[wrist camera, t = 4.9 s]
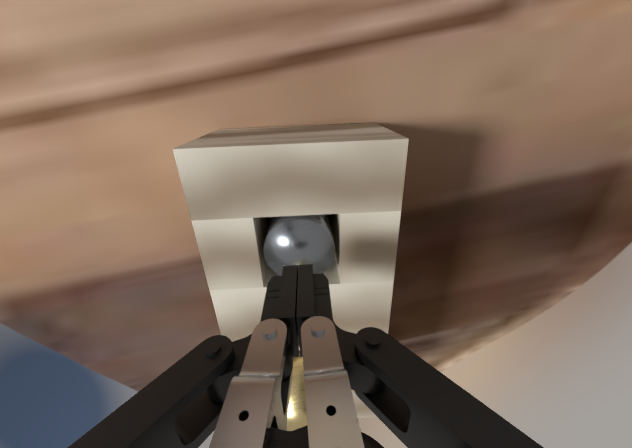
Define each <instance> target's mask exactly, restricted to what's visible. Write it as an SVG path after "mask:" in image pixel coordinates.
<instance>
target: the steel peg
mask: <svg viewBox="0 0 632 448" xmlns="http://www.w3.org/2000/svg"><path fill="white" fill-rule="evenodd" d="M263 250H264V257H265V260H266V262H267V264H268V266H269V267H270V268H271V269H272V270H273V271H274V272H275V273H276V274H278V275H279V276H282V271H283V266H288V265H305V264H313V274H322V273H324V272H325V271H326V270H327V269H328V268H329V267H330V266H331V264H332V262H333V260H334V256H335V244H334V239H333V233H332V227H331V222H330V216H329V214H322V215H301V216H279V217H272V218H271V222H270V225H269V229H268V232H267V236H266V239H265V243H264V249H263Z"/></svg>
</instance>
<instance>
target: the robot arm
mask: <svg viewBox="0 0 632 448" xmlns="http://www.w3.org/2000/svg"><path fill="white" fill-rule="evenodd" d="M299 347H300V357H303V367H304V384H305V398H306V411H307V426H304V427H302V428H299V429H296V430H293V431H287V416H288V408H289V400H290V392H291V384H292V374H293V373H292V369H293V357H299ZM351 390H354V391H355V394H356V395H357V396H358V398H359V399H360V400H361V401H362V402H363V403H364V404H365V405H366V406H367V407H368V408H369V409H370V410H371V411H372V412H373V413H374V414H375V415H376V416H377V417H378V418H379V419H380V420H381V421H382V422H383V423H384V424H385V425H386V426H387V427H388V428H389V429H390V430H391V431H392V432H393V433H394V434H395V435H396V436H397V437H398V438H399V439H400V440H401V441H402V442H403V443H404V444H405V445H406V446H407V447H408V448H543V447H542V446H541V445H539V444H538V443H536V442H535V441H534V440H532V439H531V438H530V437H528V436H527V435H525V434H524V433H523V432H521V431H520V430H518V429H517V428H516V427H514V426H513V425H512V424H510V423H509V422H508V421H506V420H505V419H503V418H502V417H501V416H499V415H498V414H497V413H495V412H494V411H493V410H491V409H490V408H488V407H487V406H486V405H484V404H483V403H482V402H480V401H479V400H477V399H476V398H474V397H473V396H472V395H471V394H469V393H468V392H467V391H465V390H463V389H462V388H461V387H460V386H458V385H457V384H455V383H454V382H453V381H451V380H450V379H449V378H447V377H446V376H445V375H443V374H442V373H440V372H439V371H438V370H436V369H435V368H434V367H432V366H431V365H429V364H428V363H427V362H425V361H424V360H423V359H421V358H420V357H419V356H417V355H416V354H414V353H413V352H412V351H410V350H409V349H408V348H406V347H405V346H403V345H402V344H401V343H399V342H398V341H397V340H395V339H394V338H392V337H391V336H390V335H388V334H387V333H386V332H384V331H383V330H381V329H379V328H375V327H366V328H363V329H361V330H359V331H358V332H357V334H356V333H351V332H347V331H344V330H342V329H341V328H339V327H338V326H337V325H336V324H335V322H334V320H333V315H332V307H331V298H330V290H329V281H328V279H327V277H326V276H325V275H324V274H323V273H322V274H313V264H305V265H288V266H283V271H282V276H273V277H272V278H271V280H270V281H269V282H268V284H267V289H266V295H265V300H264V305H263V310H262V315H261V321H260V323H259V324H258V325H257V326H256V327H255V328H254V330H253V333H252V334H250V335H249V336H247V337H245V338H242V339H239V340H236V341H233V342H232V341H231V340H230V338H228V337H227V336H223V335H216V336H212V337H210V338H208V339H206V340H204V341H203V342H202V343H200V344H199V345H198V346H197V347H195V348H194V349H193V350H191V351H190V352H189V353H188V354H186V355H185V356H184V357H183V358H181V359H180V360H179V361H177V362H176V363H175V364H174V365H172V366H171V367H170V368H169V369H167V370H166V371H165V372H163V373H162V374H161V375H160V376H158V377H157V378H156V379H155V380H153V381H152V382H151V383H149V384H148V385H147V386H146V387H144V388H143V389H142V390H141V391H139V392H138V393H137V394H135V395H134V396H133V397H132V398H131V399H129V400H128V401H127V402H125V403H124V404H123V405H121V406H120V407H119V408H118V409H116V410H115V411H114V412H113V413H111V414H110V415H109V416H107V417H106V418H105V419H104V420H102V421H101V422H100V423H99V424H97V425H96V426H95V427H93V428H92V429H91V430H90V431H88V432H87V433H86V434H85V435H83V436H82V437H81V438H80V439H78V440H77V441H76V442H75V443H73V444H72V445H71V446H69V447H68V448H198V447H199V446H200V445H201V444H202V443H203V442H204V441H205V439H206V438H207V437H208V436H209V435H210V434H211V433H212V432H213V431H214V430H215V431H214V434H213V437H212V440H211V443H210V446H209V448H384V447H382V446H381V445H380V444H379V443H378V442H377V441H376V440H374V439H373V438H371V437H370V436H368V435H366V434H365V433H362V432H361V430H360V426H359V422H358V417H357V413H356V408H355V404H354V399H353V395H352V391H351Z"/></svg>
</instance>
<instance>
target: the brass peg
mask: <svg viewBox="0 0 632 448" xmlns="http://www.w3.org/2000/svg"><path fill="white" fill-rule="evenodd" d="M292 373H293V374H292V384H291V392H290V400H289V408H288V416H287V431H293V430H296V429H299V428H302V427H304V426H307V411H306V398H305V384H304V367H303V357H300V350H299V357H293V369H292Z"/></svg>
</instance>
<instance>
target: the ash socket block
mask: <svg viewBox="0 0 632 448" xmlns="http://www.w3.org/2000/svg"><path fill="white" fill-rule="evenodd" d="M408 142H409V139H408V138H406V137H404V136H402V135H400V134H398V133H396V132H394V131H391V130H389V129H387V128H385V127H383V126H381V125H379V124H377V123H351V124H328V125H305V126H282V127H259V128H236V129H218V130H216V131H214V132H211V133H209V134H207V135H204V136H202V137H200V138H197V139H195V140H193V141H190V142H188V143H186V144H183V145H181V146H179V147H176V148H174V149H173V152H174V156H175V160H176V164H177V167H178V171H179V175H180V179H181V183H182V186H183V190H184V194H185V198H186V202H187V206H188V209H189V213H190V217H191V221H192V225H193V229H194V232H195V236H196V240H197V244H198V248H199V251H200V255H201V259H202V263H203V267H204V271H205V274H206V278H207V282H208V286H209V290H210V293H211V297H212V301H213V305H214V309H215V313H216V316H217V320H218V324H219V328H220V332H221V335H223V336H227V337H228V338H230V340H231V341H232V342H233V341H236V340H239V339H242V338H245V337H247V336H249V335H250V334H252V333H253V330H254V328H255V327H256V326H257V325H258V324H259V323H260V321H261V315H262V310H263V305H264V300H265V295H266V289H267V284H268V282H269V281H270V280H271V278H272V277H273V276H279V275H278V274H276V273H275V272H274V271H273V270H272V269H271V268H270V267H269V266H268V264H267V262H266V260H265V257H264V250H263V249H264V243H265V239H266V236H267V232H268V229H269V225H270V222H271V218H272V217H279V216H301V215H322V214H331V227H332V233H333V239H334V244H335V256H334V260H333V262H332V264H331V266H330V267H329V268H328V269H327V270H326V271H325V272H324V273H323V274H324V275H325V276H326V277H327V279H328V281H329V290H330V298H331V307H332V315H333V320H334V322H335V324H336V325H337V326H338V327H339V328H341V329H342V330H344V331H347V332H351V333H356V334H357V332H358V331H359V330H361V329H363V328H366V327H375V328H379V329H381V330H383V331H384V332H386V333H387V334H388V330H389V321H390V312H391V302H392V293H393V283H394V274H395V264H396V255H397V246H398V236H399V227H400V217H401V208H402V198H403V189H404V180H405V170H406V161H407V151H408ZM299 350H300V347H299ZM351 391H352V395H353V399H354V404H355V408H356V413H357V417H358V418H368V417H377V416H376V415H375V414H374V413H373V412H372V411H371V410H370V409H369V408H368V407H367V406H366V405H365V404H364V403H363V402H362V401H361V400H360V399H359V398H358V396H357V395H356V394H355V391H354V390H351Z"/></svg>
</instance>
